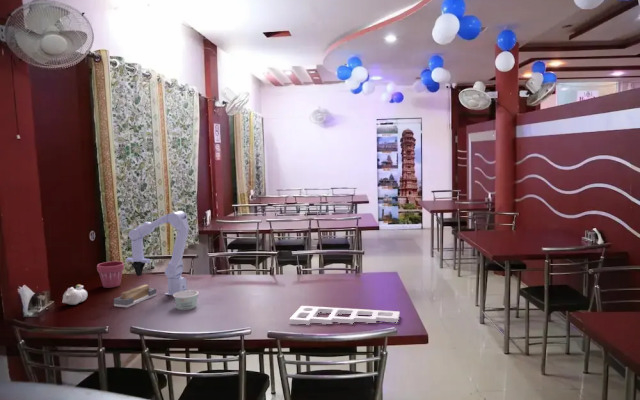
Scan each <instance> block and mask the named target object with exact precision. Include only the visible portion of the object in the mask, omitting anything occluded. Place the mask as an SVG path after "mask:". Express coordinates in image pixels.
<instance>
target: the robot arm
mask: <svg viewBox="0 0 640 400" xmlns="http://www.w3.org/2000/svg"><path fill="white" fill-rule="evenodd" d="M163 224H170V225H171V226H172V227H173V228H174V229H176V231H177V234H176V239H175V242H174V247H173V250H172V255H171V259H170V261H169V262H168V264H167V266H166V267H165V269H164V274H165V275H164V276H166V279H167V291H168V292H165V293H164V295H165V296H173V294H175V293H177V292H180V291H186V290H188V281H187V278H185V277H183V276H182V273H183V272H184V261H183V256H184V254H185V253H184V252H185V248H186V243H187V239H188V236H189V230H190V226H189V223H188V215H187V214H186V212H184V211H183V210H177V211H174V212H170V213H167V214H165V215H163V216H161V217H159V218H157V219H156V220H154V221H152V222H151V221H144V222H143V224H141V225H137V226H136V228H132V229H130V230H129V232H128V237H129V239H130V240H131V241H130V243H131V257H127V258H126V259H125V260H126V263H131V266H132V268H133V269H134V271H135V274H136V277H141V276H142V275H143V269H144V267H145V265H146V264H150V263H151V258H146V257H145V255H144V242H143V241H144V237H146V236H147V235H149V234H151V233H154V231H155V230H156V229H155V228H157V227H160V226H161V225H163Z"/></svg>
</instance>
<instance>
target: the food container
mask: <svg viewBox="0 0 640 400" xmlns="http://www.w3.org/2000/svg"><path fill="white" fill-rule="evenodd" d="M199 293H200V292H199V291H197V290H192V289H189V290H188V289H187V290H186V291H180V292H177V293H175V294H173V295H172V297H174V302H175V306H176V309H177V310H180V311H185V310H186V311H187V310H192V309H195V308H196V307H197V305H198V296H199Z"/></svg>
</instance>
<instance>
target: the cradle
mask: <svg viewBox="0 0 640 400" xmlns="http://www.w3.org/2000/svg"><path fill="white" fill-rule="evenodd" d="M156 296H157V288H153V287H152V288H151V287H149V291H148V295H146V296H144V297H141V298H139V299H136V300H134V301H133V298H128V299H122V296H119V297H118V296H117V297H115V298H113V306H114V307H119V308H129V307H131V306H134V305H136V304H138V303H141V302H143V301H146V300H148V299H151V298H153V297H156Z"/></svg>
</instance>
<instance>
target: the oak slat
mask: <svg viewBox="0 0 640 400" xmlns="http://www.w3.org/2000/svg"><path fill="white" fill-rule="evenodd" d="M149 288H150V286H149V284H142V285H139V286H137V287H134V288H131V289H129V290H126V291H123V292H121V293H120V294H121V295H120V296H121V297H122V299H128V298H133V301H134V300H136V299H139V298H141V297H144V296H146V295H148V291H149Z"/></svg>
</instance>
